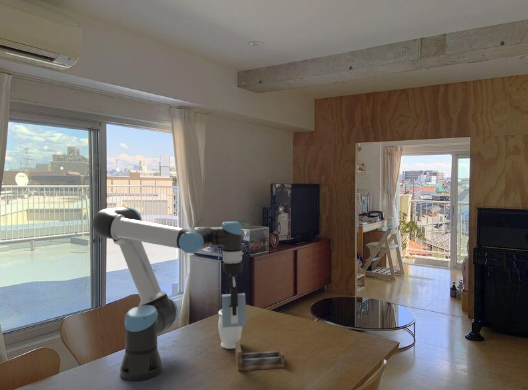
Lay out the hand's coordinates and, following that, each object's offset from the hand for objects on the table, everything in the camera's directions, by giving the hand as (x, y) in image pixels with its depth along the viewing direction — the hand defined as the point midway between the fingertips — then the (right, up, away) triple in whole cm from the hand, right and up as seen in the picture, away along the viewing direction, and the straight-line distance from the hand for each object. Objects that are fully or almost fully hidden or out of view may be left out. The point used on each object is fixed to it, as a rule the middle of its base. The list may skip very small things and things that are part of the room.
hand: (234, 321), depth 153 cm
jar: (-3, -17, +20) cm, 26 cm away
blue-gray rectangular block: (0, -2, 0) cm, 2 cm away
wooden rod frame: (+10, -17, +2) cm, 20 cm away
